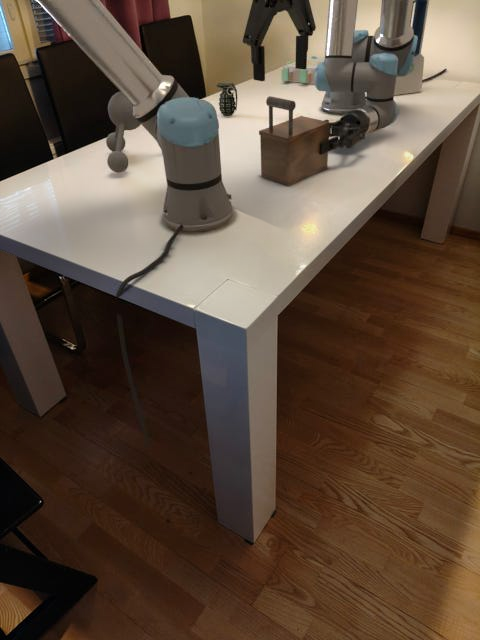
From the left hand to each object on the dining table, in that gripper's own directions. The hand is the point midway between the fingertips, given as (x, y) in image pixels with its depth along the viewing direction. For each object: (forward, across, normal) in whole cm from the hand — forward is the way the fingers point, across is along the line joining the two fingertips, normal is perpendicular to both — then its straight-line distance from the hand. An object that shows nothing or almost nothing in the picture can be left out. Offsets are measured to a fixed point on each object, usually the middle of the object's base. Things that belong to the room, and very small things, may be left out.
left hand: (280, 74), depth 108 cm
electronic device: (+24, -91, -22) cm, 97 cm away
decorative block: (+24, -89, -66) cm, 113 cm away
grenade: (+24, -30, -52) cm, 65 cm away
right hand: (+18, -9, 0) cm, 20 cm away
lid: (+13, -5, 0) cm, 14 cm away
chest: (+24, -5, 0) cm, 24 cm away
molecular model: (+24, +14, -40) cm, 49 cm away
